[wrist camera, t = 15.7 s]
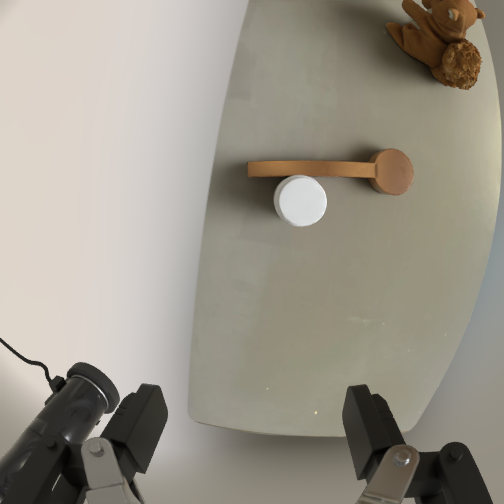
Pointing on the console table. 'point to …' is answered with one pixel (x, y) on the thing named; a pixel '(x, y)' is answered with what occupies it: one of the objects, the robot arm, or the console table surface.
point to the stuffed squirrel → (441, 39)
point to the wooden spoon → (347, 170)
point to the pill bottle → (299, 200)
